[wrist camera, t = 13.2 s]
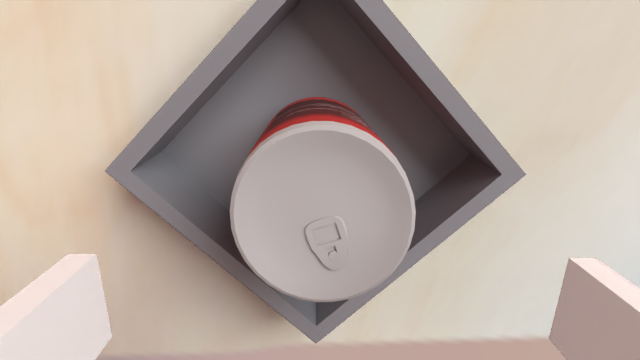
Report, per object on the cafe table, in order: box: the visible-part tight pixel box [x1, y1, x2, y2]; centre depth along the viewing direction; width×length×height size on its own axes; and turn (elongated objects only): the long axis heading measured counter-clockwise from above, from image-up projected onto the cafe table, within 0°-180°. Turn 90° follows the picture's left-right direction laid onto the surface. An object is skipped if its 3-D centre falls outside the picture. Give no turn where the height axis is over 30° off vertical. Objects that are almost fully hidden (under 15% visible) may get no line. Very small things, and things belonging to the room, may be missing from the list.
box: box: [105, 0, 526, 343], centre depth 23 cm, size 17×17×5 cm
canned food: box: [230, 97, 416, 302], centre depth 20 cm, size 8×8×11 cm
